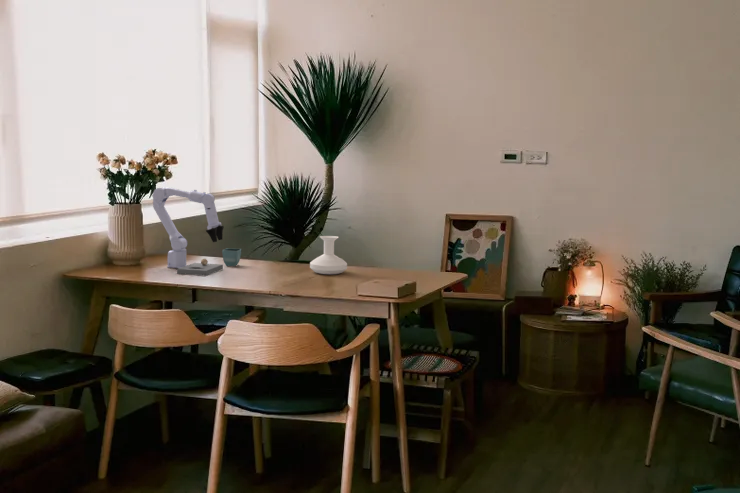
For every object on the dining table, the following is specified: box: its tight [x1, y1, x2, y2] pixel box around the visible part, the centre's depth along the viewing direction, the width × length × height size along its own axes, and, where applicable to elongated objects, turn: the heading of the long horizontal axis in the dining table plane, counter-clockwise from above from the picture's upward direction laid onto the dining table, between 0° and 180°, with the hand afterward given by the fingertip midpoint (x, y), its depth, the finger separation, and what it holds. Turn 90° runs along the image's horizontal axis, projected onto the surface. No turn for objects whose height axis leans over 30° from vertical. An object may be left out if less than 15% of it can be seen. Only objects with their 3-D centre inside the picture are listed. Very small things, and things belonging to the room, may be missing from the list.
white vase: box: [309, 235, 348, 275], centre depth 431 cm, size 20×20×19 cm
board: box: [176, 262, 224, 276], centre depth 425 cm, size 16×22×2 cm
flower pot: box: [221, 247, 242, 267], centre depth 447 cm, size 9×9×9 cm
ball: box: [200, 258, 209, 265], centre depth 430 cm, size 4×4×4 cm
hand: (217, 240), depth 434 cm, fingers open, 7 cm apart
